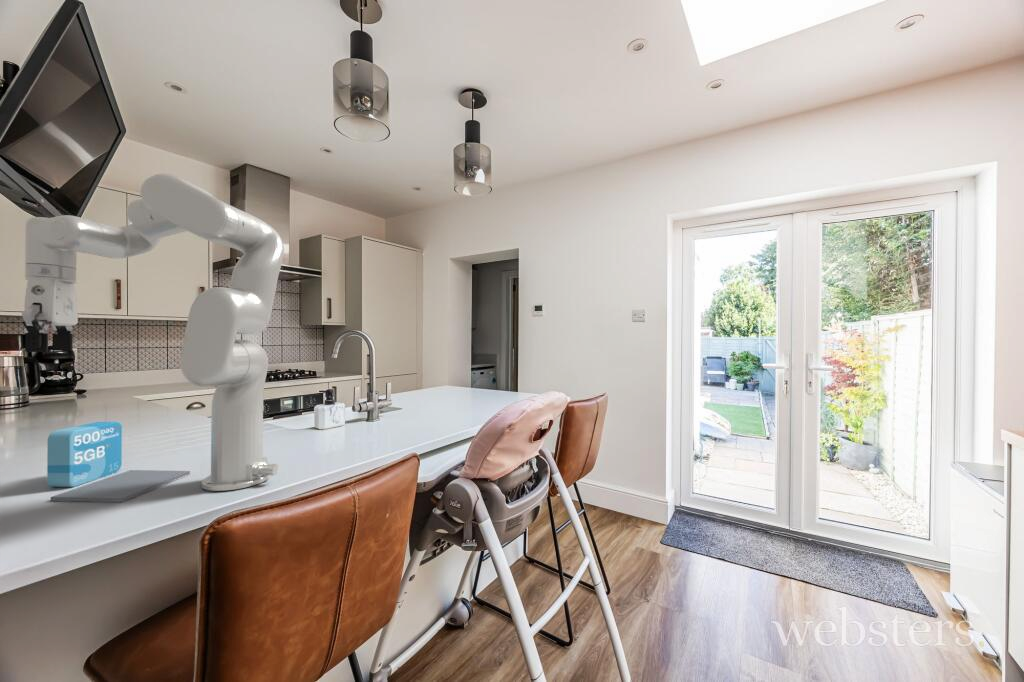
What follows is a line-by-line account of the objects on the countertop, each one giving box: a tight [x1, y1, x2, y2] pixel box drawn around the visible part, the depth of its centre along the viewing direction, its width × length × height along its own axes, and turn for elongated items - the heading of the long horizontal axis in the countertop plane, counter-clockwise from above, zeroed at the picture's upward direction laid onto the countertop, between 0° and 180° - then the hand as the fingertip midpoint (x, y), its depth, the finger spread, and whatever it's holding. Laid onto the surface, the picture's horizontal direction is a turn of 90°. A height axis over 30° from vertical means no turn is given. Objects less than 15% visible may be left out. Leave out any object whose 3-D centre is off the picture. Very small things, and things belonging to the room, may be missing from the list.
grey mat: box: [50, 469, 191, 503], centre depth 85 cm, size 14×16×1 cm
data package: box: [46, 421, 123, 488], centre depth 89 cm, size 12×4×12 cm, turn 3°
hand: (50, 351), depth 89 cm, fingers open, 9 cm apart
